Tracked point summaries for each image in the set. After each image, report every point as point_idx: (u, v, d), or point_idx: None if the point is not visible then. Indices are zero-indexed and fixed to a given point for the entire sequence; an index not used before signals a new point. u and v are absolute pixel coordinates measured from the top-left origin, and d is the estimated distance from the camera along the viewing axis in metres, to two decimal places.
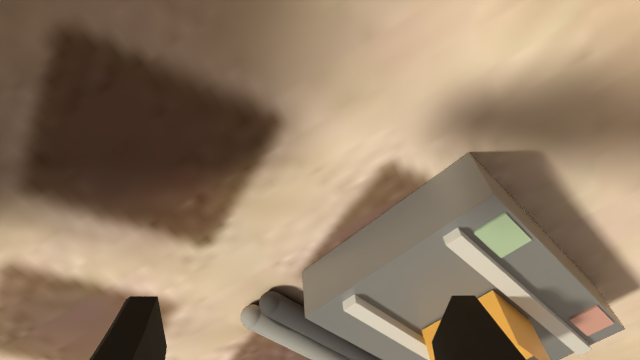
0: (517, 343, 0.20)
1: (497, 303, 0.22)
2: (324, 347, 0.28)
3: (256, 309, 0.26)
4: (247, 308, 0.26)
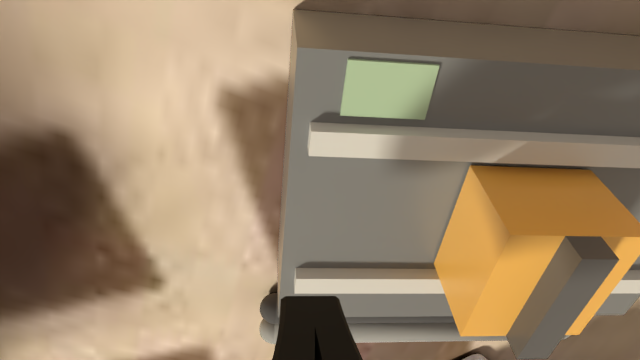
0: (510, 232, 0.12)
1: (478, 182, 0.13)
2: (383, 323, 0.22)
3: None
4: (261, 322, 0.22)
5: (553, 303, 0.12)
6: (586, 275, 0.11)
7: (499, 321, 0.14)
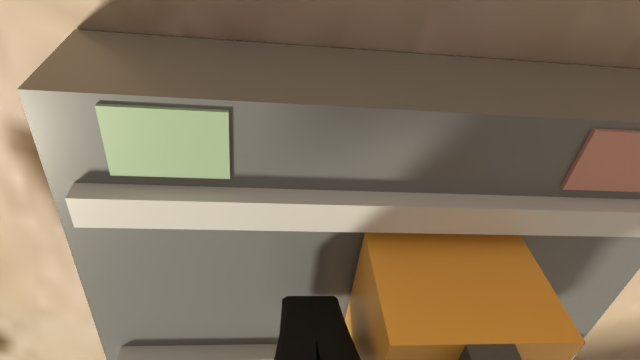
0: (391, 342, 0.09)
1: (369, 258, 0.10)
2: None
3: None
4: None
5: None
6: None
7: None
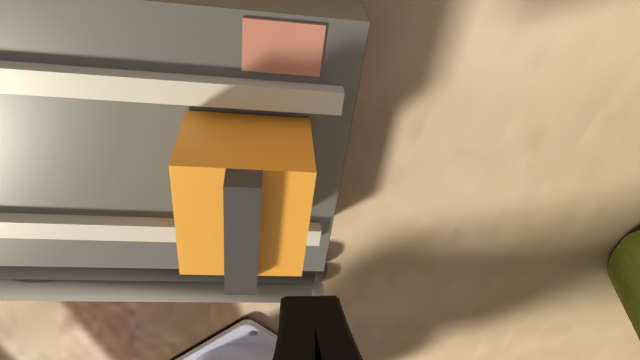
0: (171, 164, 0.12)
1: (181, 124, 0.14)
2: (117, 281, 0.22)
3: None
4: None
5: (224, 234, 0.13)
6: (239, 204, 0.12)
7: (210, 259, 0.14)
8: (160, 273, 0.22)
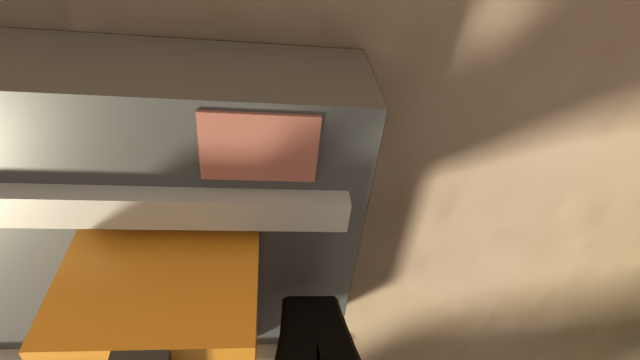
0: (23, 348, 0.08)
1: (65, 257, 0.10)
2: None
3: None
4: None
5: None
6: None
7: None
8: None
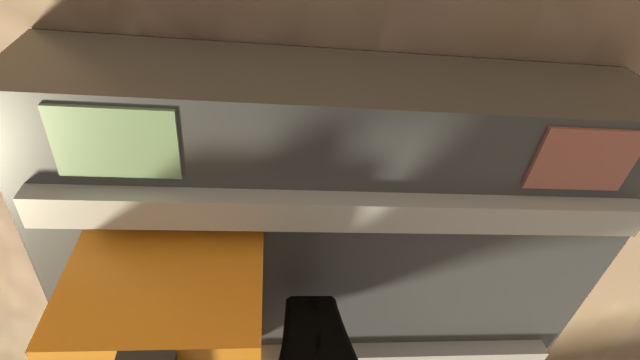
0: (30, 348, 0.08)
1: (71, 257, 0.10)
2: None
3: None
4: None
5: None
6: None
7: None
8: None
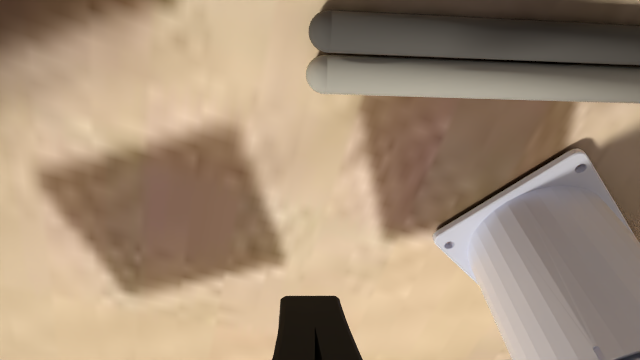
0: None
1: None
2: (470, 65, 0.17)
3: (318, 57, 0.16)
4: (308, 65, 0.17)
5: None
6: None
7: None
8: (544, 41, 0.16)
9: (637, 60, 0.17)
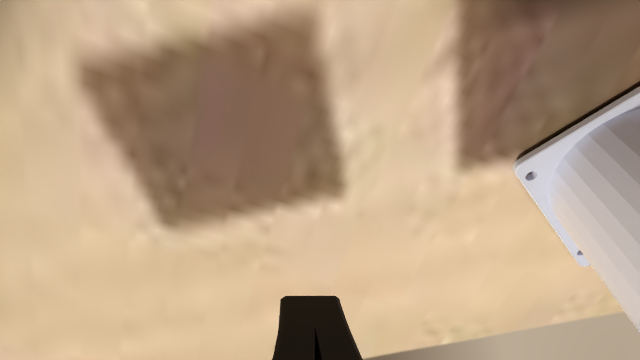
0: None
1: None
2: None
3: None
4: None
5: None
6: None
7: None
8: None
9: None
